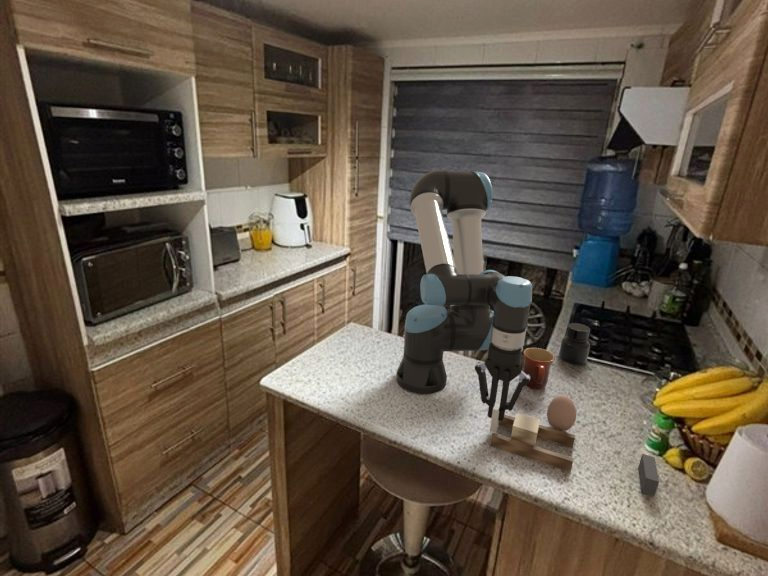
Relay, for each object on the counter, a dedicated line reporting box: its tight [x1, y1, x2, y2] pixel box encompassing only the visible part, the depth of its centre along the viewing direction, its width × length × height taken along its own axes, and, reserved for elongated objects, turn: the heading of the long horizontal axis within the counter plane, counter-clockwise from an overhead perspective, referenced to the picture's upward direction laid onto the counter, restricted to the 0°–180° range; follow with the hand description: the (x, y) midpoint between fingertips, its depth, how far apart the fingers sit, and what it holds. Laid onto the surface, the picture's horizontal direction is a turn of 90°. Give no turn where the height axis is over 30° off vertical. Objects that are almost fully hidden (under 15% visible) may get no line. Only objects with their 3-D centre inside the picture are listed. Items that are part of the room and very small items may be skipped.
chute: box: [489, 414, 576, 473], centre depth 100 cm, size 18×10×3 cm, turn 64°
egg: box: [546, 395, 577, 432], centre depth 105 cm, size 7×7×10 cm
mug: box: [522, 347, 555, 391], centre depth 123 cm, size 12×9×10 cm
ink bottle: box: [558, 322, 591, 366], centre depth 141 cm, size 10×9×12 cm
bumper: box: [637, 453, 660, 498], centre depth 90 cm, size 2×8×4 cm, turn 154°
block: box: [510, 412, 541, 446], centre depth 101 cm, size 6×6×6 cm
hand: (493, 428), depth 104 cm, fingers closed
